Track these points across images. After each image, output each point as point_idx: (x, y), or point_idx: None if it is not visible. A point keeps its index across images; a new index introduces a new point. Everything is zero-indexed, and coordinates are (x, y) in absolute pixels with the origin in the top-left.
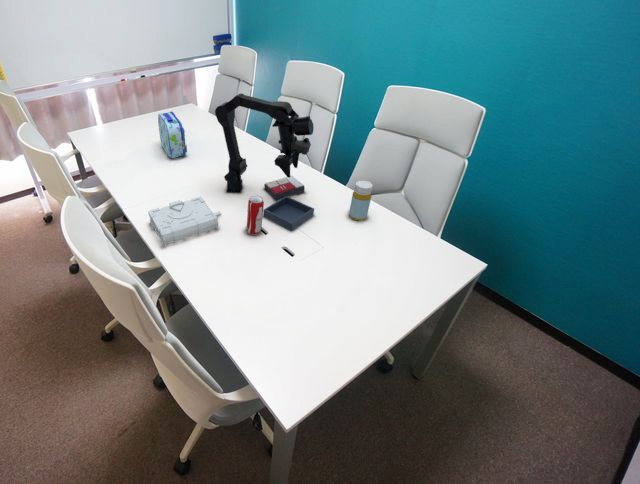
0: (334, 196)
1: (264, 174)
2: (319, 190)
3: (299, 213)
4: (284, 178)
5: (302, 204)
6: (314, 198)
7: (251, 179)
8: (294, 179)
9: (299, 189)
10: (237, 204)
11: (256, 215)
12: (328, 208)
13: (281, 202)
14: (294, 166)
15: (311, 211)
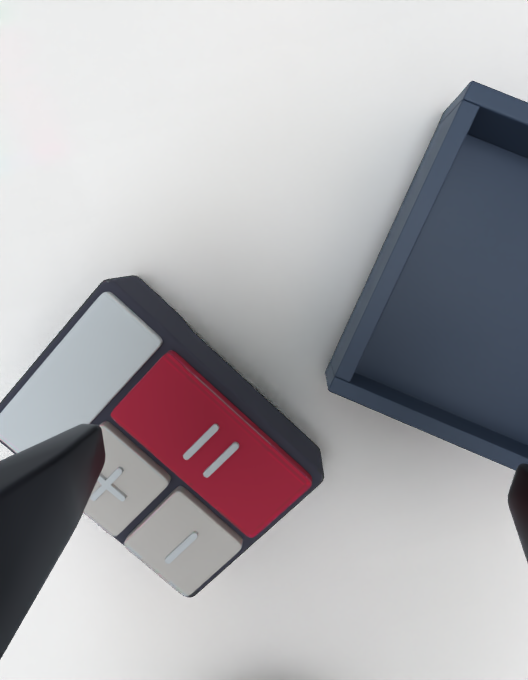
0: (86, 15)
1: None
2: (47, 166)
3: (464, 227)
4: None
5: (429, 212)
6: (182, 173)
7: (106, 673)
8: (40, 392)
9: (157, 312)
10: (459, 675)
11: None
12: (292, 15)
13: (408, 402)
14: (93, 481)
15: (510, 101)
